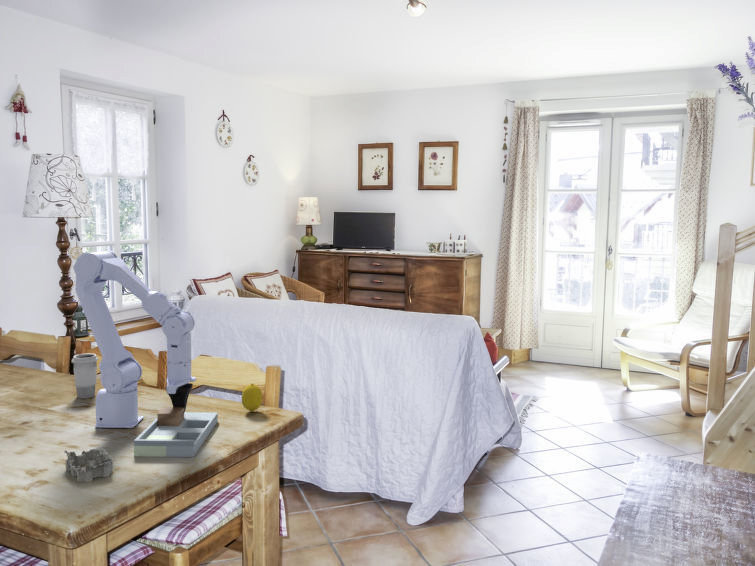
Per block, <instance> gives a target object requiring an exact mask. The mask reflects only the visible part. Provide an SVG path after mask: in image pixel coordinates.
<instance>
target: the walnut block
mask: <svg viewBox="0 0 755 566" xmlns="http://www.w3.org/2000/svg"><path fill="white" fill-rule="evenodd" d="M156 418H157V426H179V425H180V424H181V422H182V421H183V420H184V407H173V406H169V407H168V406H164V407H162V408H161V409H160V410H159V411H158V412H157V416H156Z"/></svg>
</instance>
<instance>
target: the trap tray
mask: <svg viewBox="0 0 755 566" xmlns="http://www.w3.org/2000/svg"><path fill="white" fill-rule="evenodd" d="M218 416H219V415H218V412H201V411H200V412H199V411H198V412H197V411H194V412H192V411H188V412H187V411H185V413H184V420H183V421H182V422H181V424H180V425H179V426H157V417H156V418H154V420H153V421H151V422H150V424H149V425H148V426H147V427H146V428H144V429H143V431H141V433H140V434H139V435H138V436H137V437H136V438H134V440H133V456H134V457H160V458H161V457H166V458H167V457H169V458H170V457H171V458H172V457H173V458H174V457H176V458H190V457H191V458H194V457H195V455H196V454H197V452H198V451H199V450H200V449H201V447H202V445H203V444H204V442H205V441H206V439H207V438H208V436H209V435H210V433H211V432H212V431H213V429H214V428H215V427H216V424H218V422H219V420H218V418H219V417H218Z"/></svg>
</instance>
